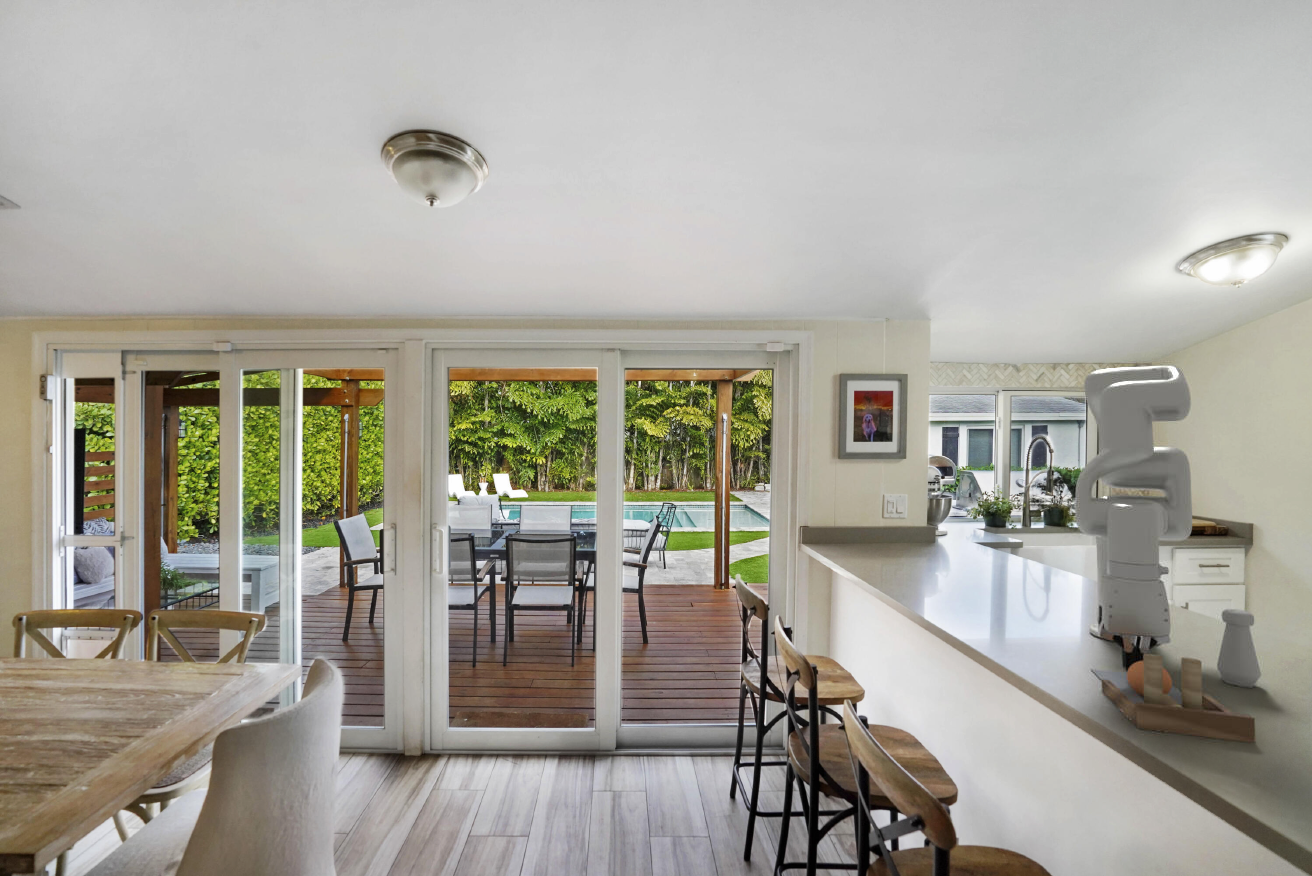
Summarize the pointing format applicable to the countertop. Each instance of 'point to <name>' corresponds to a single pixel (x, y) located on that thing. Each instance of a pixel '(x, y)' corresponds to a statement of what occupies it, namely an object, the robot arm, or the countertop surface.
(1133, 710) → the lane rail
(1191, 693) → the pin back left
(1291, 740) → the countertop surface
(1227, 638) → the salt shaker
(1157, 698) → the pin back right
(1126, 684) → the plate
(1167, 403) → the robot arm
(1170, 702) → the pin front
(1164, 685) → the ball
